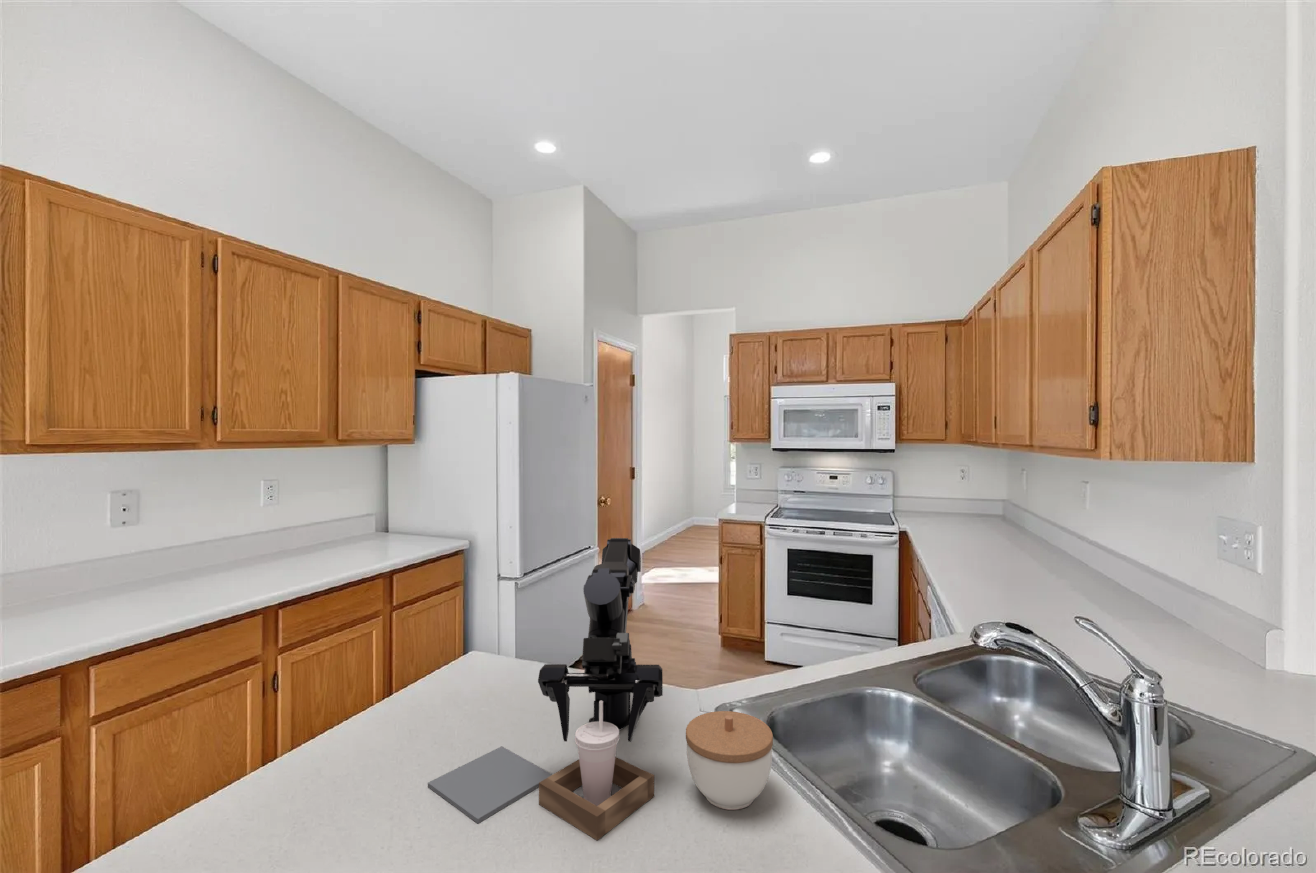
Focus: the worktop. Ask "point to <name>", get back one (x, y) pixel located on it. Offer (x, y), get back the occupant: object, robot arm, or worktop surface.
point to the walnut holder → (586, 814)
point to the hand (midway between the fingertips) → (597, 740)
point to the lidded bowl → (729, 757)
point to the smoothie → (597, 757)
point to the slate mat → (489, 783)
